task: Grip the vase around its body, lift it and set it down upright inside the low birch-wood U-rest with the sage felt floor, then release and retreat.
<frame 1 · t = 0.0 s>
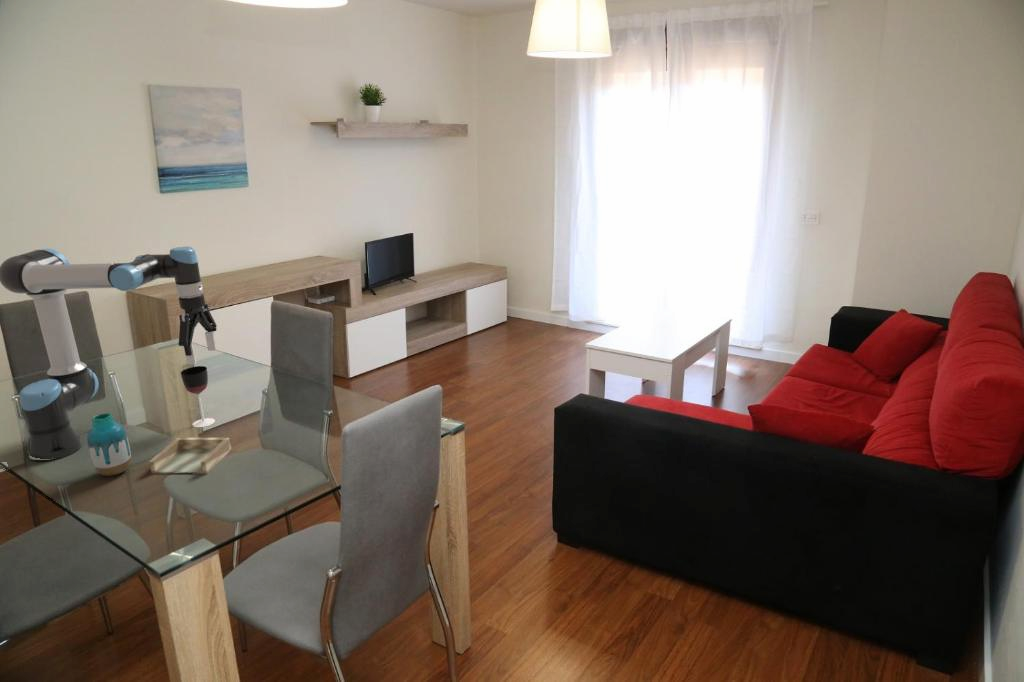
hand: (202, 357, 232), 28 cm above the table, fingers open, 13 cm apart
rest: (191, 461, 221), on the table
vase: (115, 472, 216), on the table
wineglass: (203, 423, 249), on the table
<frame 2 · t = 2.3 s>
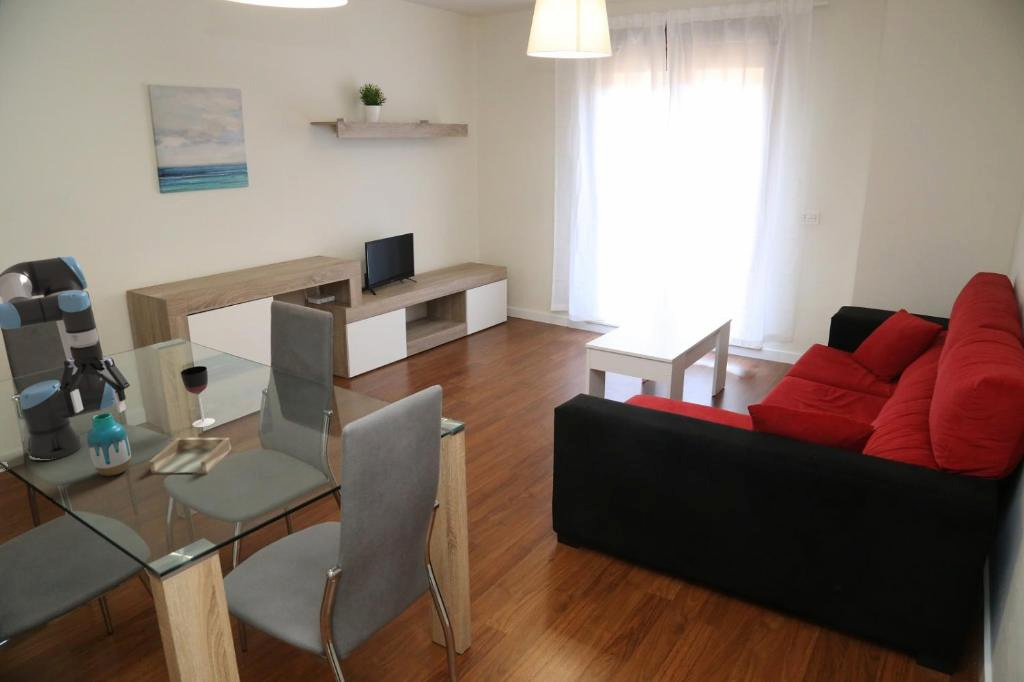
hand: (100, 411, 209), 21 cm above the table, fingers open, 13 cm apart
nothing on the table moved.
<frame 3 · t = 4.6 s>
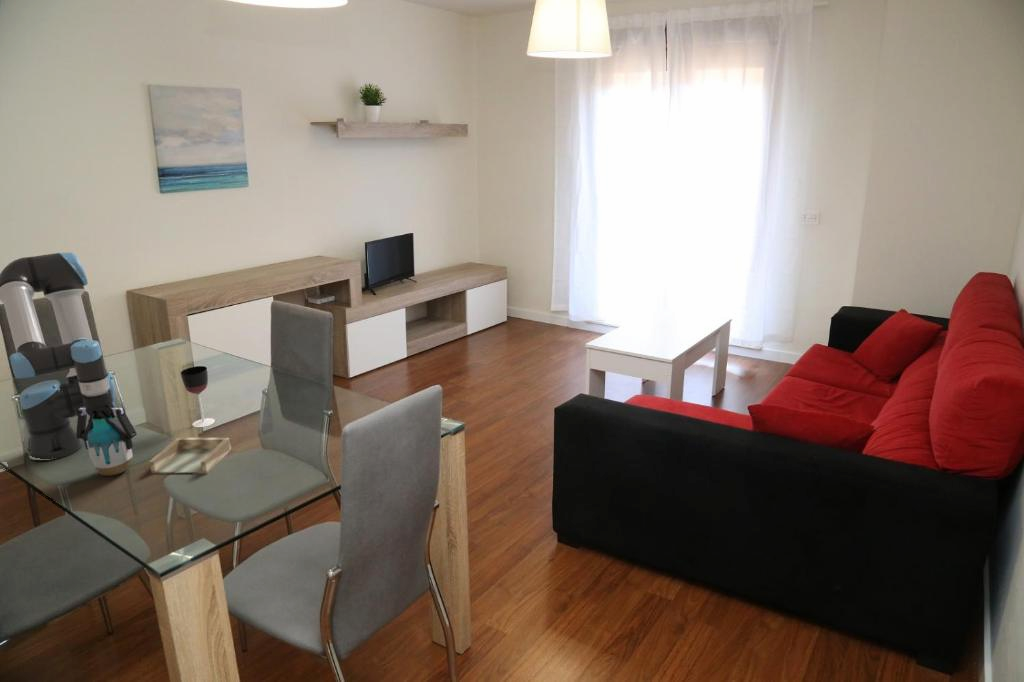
hand: (112, 458, 215), 5 cm above the table, fingers closed on vase, 10 cm apart
vase: (115, 472, 216), on the table, touching gripper
everything else where it was.
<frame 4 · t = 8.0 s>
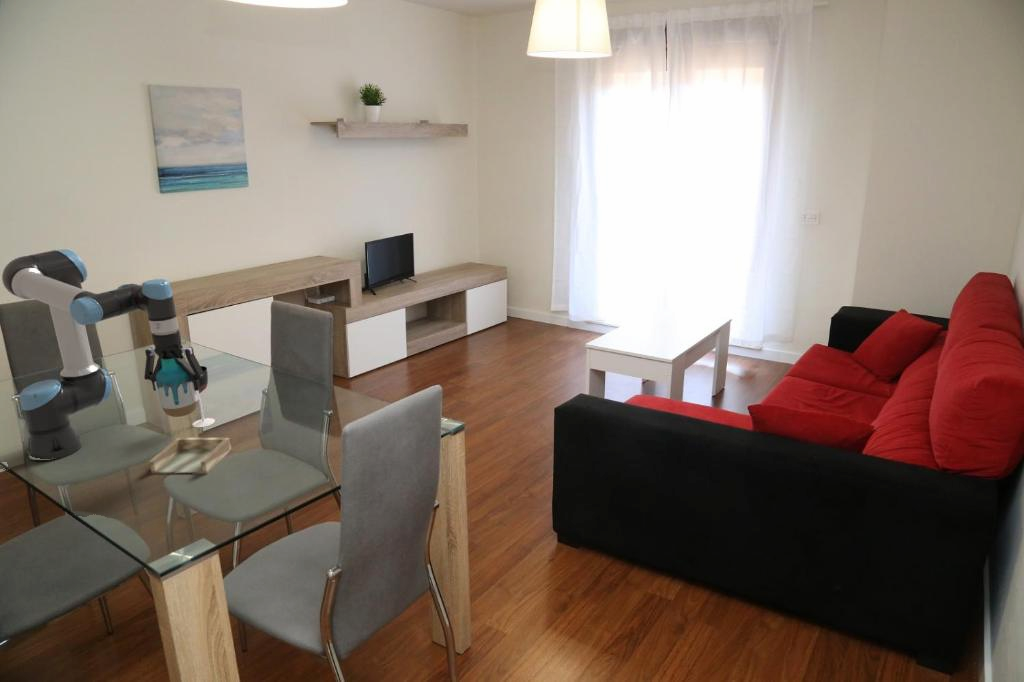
hand: (179, 400, 214), 21 cm above the table, fingers closed on vase, 10 cm apart
vase: (182, 415, 216), point 16 cm above the table, touching gripper
everything else where it was.
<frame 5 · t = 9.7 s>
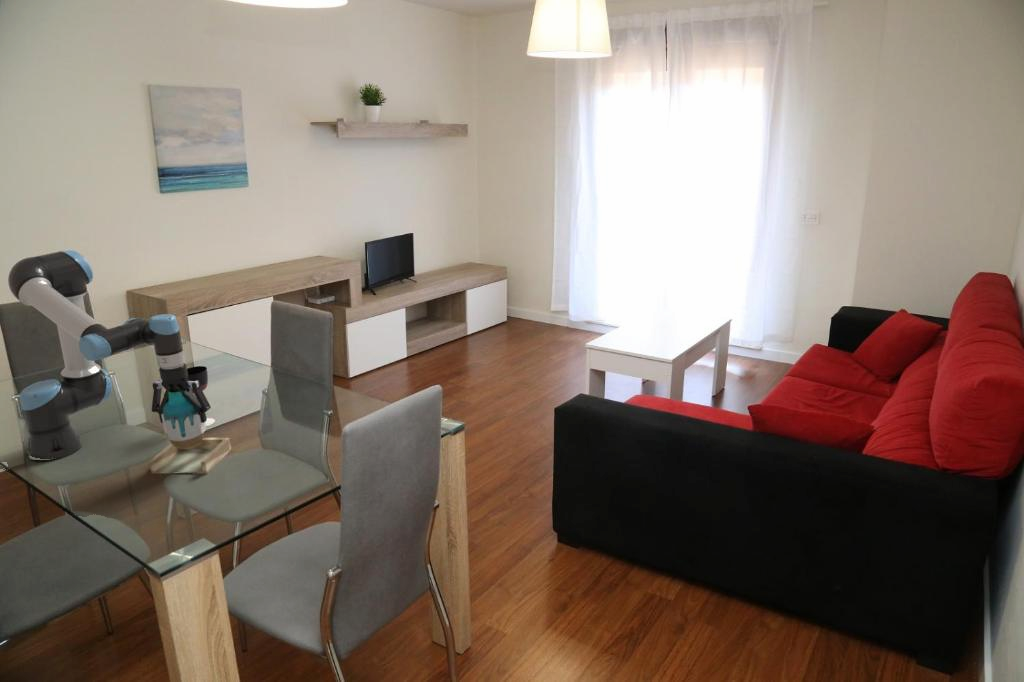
hand: (185, 431, 218), 11 cm above the table, fingers closed on vase, 10 cm apart
vase: (188, 446, 219), point 6 cm above the table, touching gripper
everything else where it was.
when the fingers open (7 cm above the table, at t = 11.4 s): vase drops 2 cm, resting on rest.
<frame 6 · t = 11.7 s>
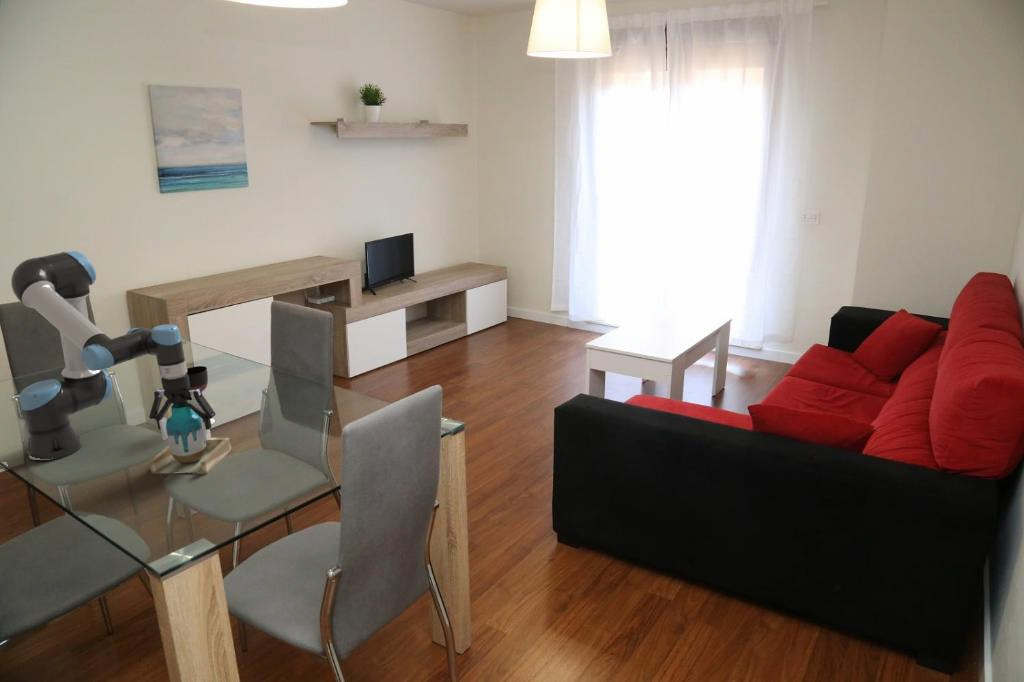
hand: (187, 438, 218), 8 cm above the table, fingers open, 13 cm apart
vase: (191, 460, 221), point 1 cm above the table, touching rest
everything else where it was.
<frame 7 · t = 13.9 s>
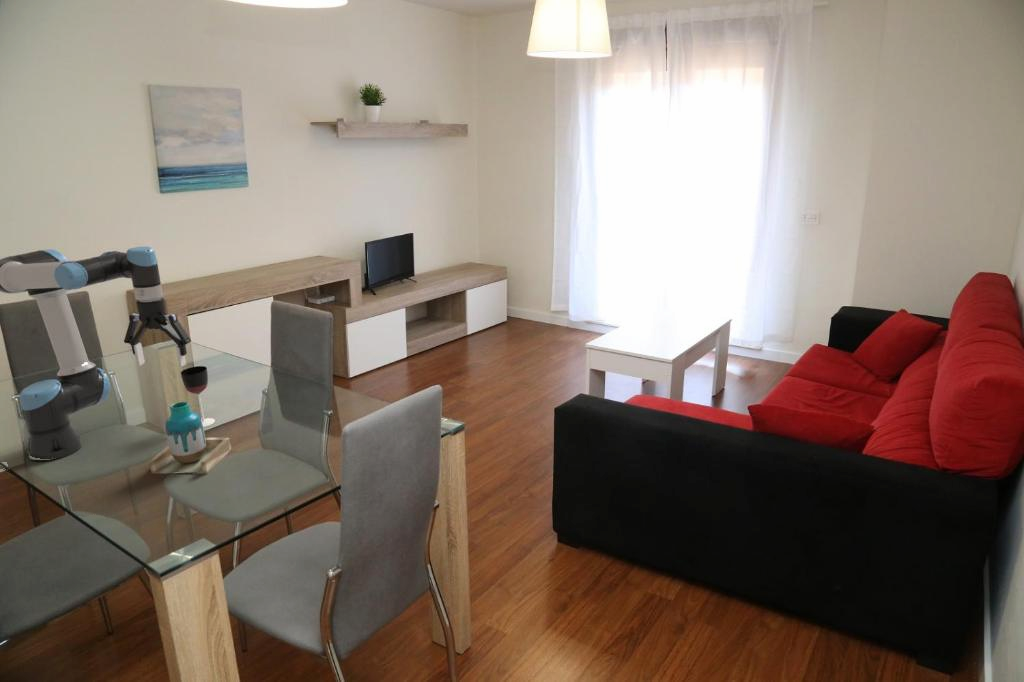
hand: (162, 364, 217), 31 cm above the table, fingers open, 13 cm apart
nothing on the table moved.
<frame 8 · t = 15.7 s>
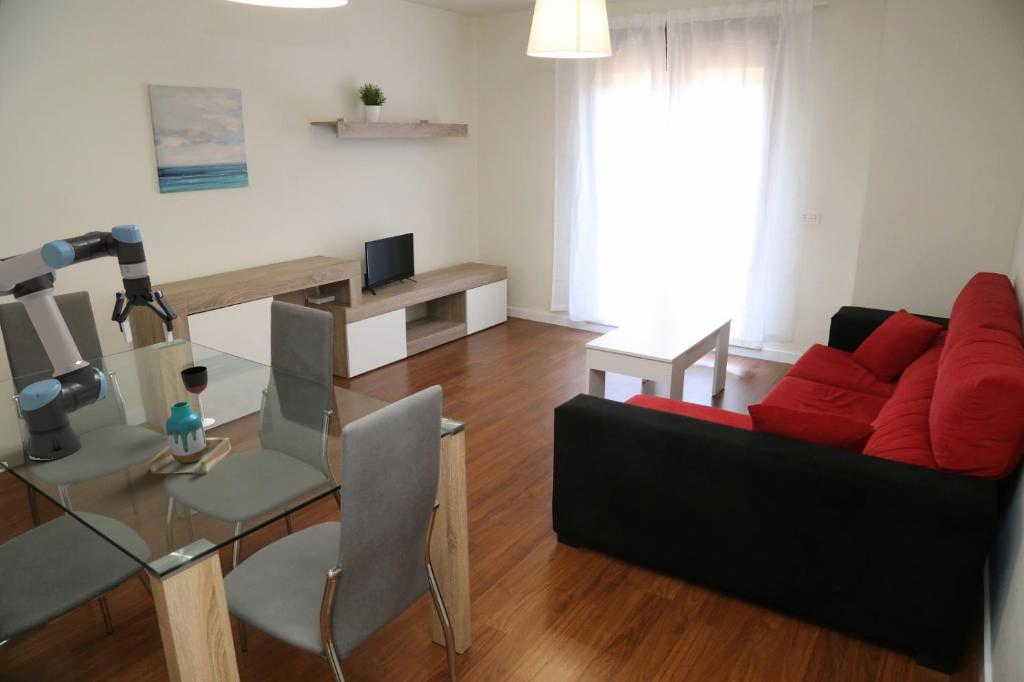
hand: (149, 341, 221), 37 cm above the table, fingers open, 13 cm apart
nothing on the table moved.
at the end: vase 0.1 cm from the rest (horizontally); vase tilted 0°; the gripper is holding nothing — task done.
